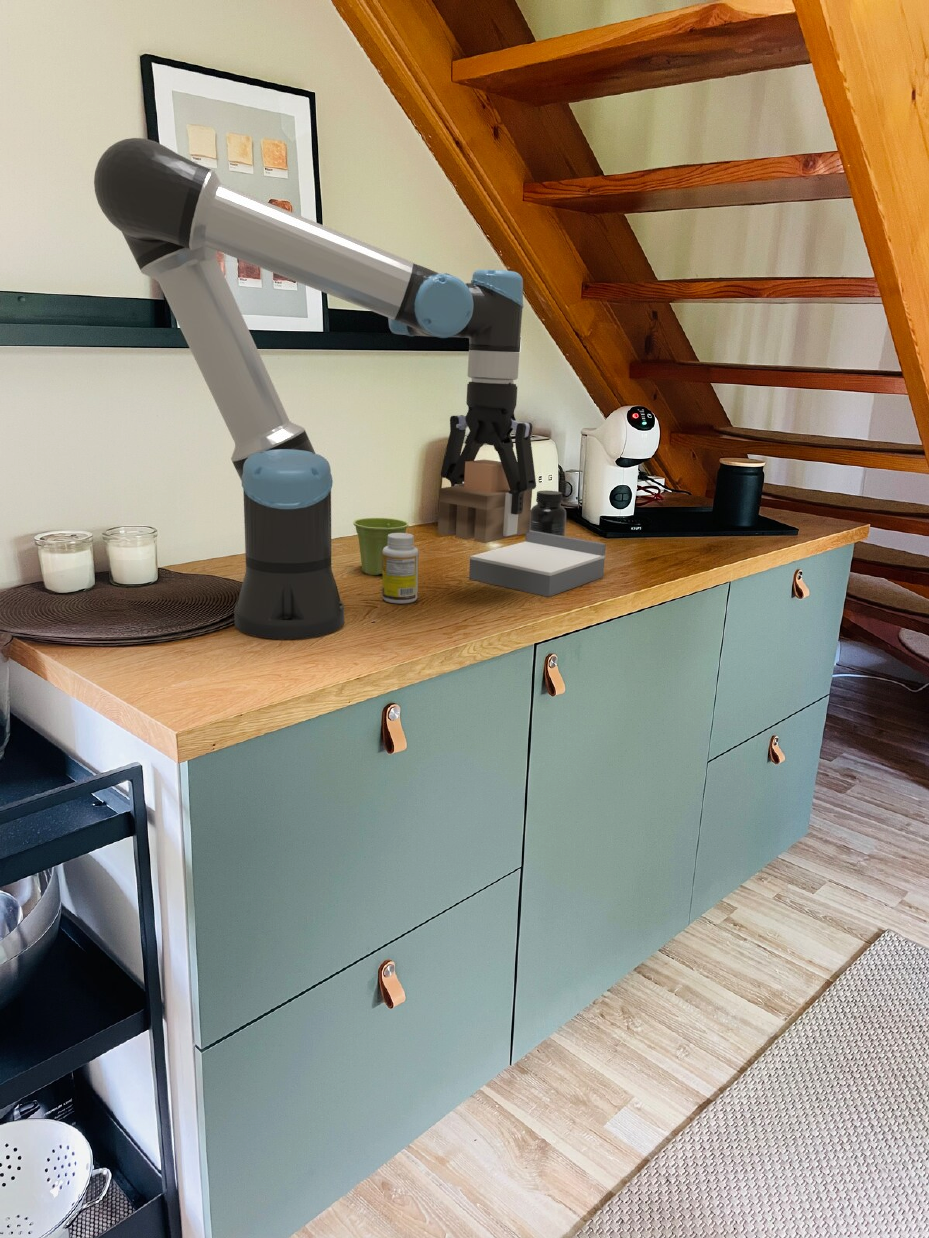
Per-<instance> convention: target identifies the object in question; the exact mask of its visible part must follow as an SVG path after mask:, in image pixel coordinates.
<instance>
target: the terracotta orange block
mask: <svg viewBox="0 0 929 1238" xmlns="http://www.w3.org/2000/svg"><path fill="white" fill-rule="evenodd" d="M463 483H464V488H468V489H474V490H480V491H486V492H495V491H501V490H507V489H509V485H508V482H507V479H506V476H505V473H504V470H503V467H502V464H501V461H498V460H490V459H485V458H483V459H479V460H478V459H477V460H474V461H467V462H465V478H464V482H463Z"/></svg>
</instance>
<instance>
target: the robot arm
mask: <svg viewBox="0 0 929 1238" xmlns="http://www.w3.org/2000/svg"><path fill="white" fill-rule="evenodd" d="M93 176H94V178H93V179H94V180H93V184H94V195H95V197H96V200H97V203H98V205H99V206H98V207H99V208H100V210H101V212H102V213H103V215H105V217H106V218H107V220H108V221H109V222H110V223H111V224H112V225H113V226H114V227H115V228H117V229H118V230H119V231H120V233H122V236H123V237H124V240H125V242H126V244H127V246H128V248H129V250H130V252H131V254H132V256H133V259H134V260H135V262H136V264H137V266H138V269H139V271H140V273H141V274H142V275H145V276H147V277H150V278H151V279H153V280H155V281H156V282H158V285H159V286H160V289H161V291H162V293H163V294H164V297H165V298H166V301H167V304H168V305H169V308H170V310H171V311H172V313H173V316H174V318H175V320H176V323H177V324H178V326H179V329H180V331H181V332H182V335H183V337H184V340H185V341H186V343H187V345H188V348H189V349H190V352H191V354H192V355H193V359H194V360H195V362H196V364H197V366H198V368H199V370H200V373H201V375H202V377H203V379H204V381H205V383H206V385H207V388H208V389H209V392H210V393H211V394H210V395H211V396H212V398H213V400H214V402H215V404H216V406H217V408H218V410H219V412H220V415H221V417H222V419H223V421H224V423H225V425H226V427H227V429H228V432H229V434H230V435H231V438H232V440H233V441H234V450H233V452H232V455H231V457H230V460H231V462H232V464H233V467H234V469H235V471H236V473H237V475H238V477H239V479H240V481H241V487H242V490H243V514H244V515H243V517H244V520H243V521H244V549H245V551H244V554H245V572H244V576H243V579H242V580H243V581H242V585H241V588H240V591H239V596H238V601H237V602H236V604H235V606H234V611H233V612H234V613H233V616H234V627H235V628H236V629H237V630H238V631H240V632H241V633H244V634H246V635H250V636H254V637H257V638H258V637H259V638H264V639H265V638H266V639H276V640H277V639H278V640H279V639H280V640H294V639H295V640H298V639H309V638H315V637H320V636H321V637H322V636H325V635H328V634H331V633H333V632H336V631H338V630H340V629H341V628H343V626H344V624H345V606H344V603H343V601H342V600H341V599H340V593H339V588H338V585H337V583H336V580H335V576H334V573H333V570H332V568H333V567H332V488H333V483H334V482H333V481H334V480H333V476H332V472H331V466H330V465H331V464H330V463H329V461H328V459H326V458H325V456H322V455H321V454H318V453H316V451H315V450H314V447H313V444H312V442H311V440H310V438H309V436H308V434H307V432H306V429H305V427H303V426H301V425H298V424H296V423H294V422H292V421H291V420H290V418H289V417H288V414H287V412H286V410H285V408H284V405H283V403H282V401H281V399H280V397H279V394H278V392H277V390H276V388H275V385H274V383H273V380H272V379H271V377H270V375H269V372H268V369H267V367H266V365H265V363H264V361H263V359H262V357H261V354H260V352H259V350H258V347H257V344H256V343H255V341H254V339H253V336H252V335H251V332H250V330H249V327H248V325H247V324H246V321H245V319H244V316H243V314H242V312H241V310H240V307H239V306H238V303H237V300H236V299H235V296H234V295H233V292H232V290H231V288H230V286H229V283H228V280H227V278H226V276H225V274H224V272H223V270H222V268H221V265H220V263H219V261H218V259H217V258H218V257H217V256H218V252H220V253H222V254H225V255H227V256H229V257H232V258H235V259H237V260H240V261H242V262H244V263H248V264H250V265H252V266H255V267H258V268H260V269H262V270H266V271H268V272H270V273H273V274H276V275H278V276H281V277H283V278H287V279H289V280H291V281H294V282H297V283H299V284H301V285H304V286H306V287H309V288H312V289H314V290H317V291H319V292H322V293H324V294H327V295H330V296H333V297H334V298H338V299H340V300H342V301H345V302H348V303H349V304H353V305H356V306H358V307H360V308H364V309H366V310H368V311H371V312H373V313H376V314H378V315H381V316H384V317H386V318H387V319H388V328H389V329H390V332H391V333H392V334H395V335H402V336H403V335H405V336H408V337H415V336H416V337H417V336H418V337H419V336H420V337H436V338H440V339H447V338H462V339H465V338H467V339H469V340H468V342H469V345H468V349H469V350H468V358H467V359H468V361H467V377H468V378H469V379H470V378H471V381H468V383H467V384H466V386H467V387H466V405H467V409H468V410H467V413H466V414H465V415H463V414H462V415H461V414H460V415H458V414H457V415H451V416H450V418H449V430H450V431H449V436H448V440H447V445H446V449H445V452H444V458H443V460H442V461H443V462H442V466H441V469H440V476H441V478H442V479H446V480H448V481H449V483H450V487H452V486H458V485H464V478H465V462H467V461H476V460H475V459H476V457H477V455H478V453H479V451H480V449H481V447H483V446H484V445H485V444H487V445H489V446H493V448H494V450H495V451H496V452H497V454H498V457H499V460H500V461H499V462H501V464H502V467H503V470H504V473H505V476H506V479H507V482H508V485H509V488H510V491H508V493H506V496H505V512H504V528H503V535H504V536H510V535H514V534H517V526H518V514H521V513H522V511H523V497H524V493H525V492H526V491H528V490H532V491H533V490H535V489H536V488H537V481H536V480H537V479H536V472H535V465H534V457H533V447H532V439H531V437H532V433H533V424H532V423H531V422H521V421H518V420H517V419H516V417H515V410H516V408H517V400H518V385H517V384H516V383H514V381H516V380H518V379H519V378H518V377H519V368H520V367H519V365H520V364H519V363H520V361H519V360H520V346H521V334H522V333H521V332H522V331H521V330H522V319H523V309H524V279H523V277H522V276H521V274H520V273H518V272H516V271H514V270H513V271H512V270H503V269H478V270H475V271H473V272H472V273H473V274H472V279H471V280H470V282H469V283H468V282H466V283H465V282H464V281H463V280H462V279H460V278H459V277H457V276H454V275H452V274H450V273H447V272H445V273H443V272H442V273H439V272H437V271H435V270H431V269H430V268H427V267H425V266H423V265H422V266H421V265H419V264H417V263H414V262H413V261H411V260H408V259H406V258H403V257H401V256H398V255H395V254H393V253H391V252H389V251H386V250H384V249H381V248H379V247H377V246H374V245H372V244H369V243H367V242H365V241H362V240H360V239H357V238H355V237H352V236H350V235H347V234H345V233H343V232H340V231H338V230H336V229H333V228H330V227H328V226H326V225H323V224H321V223H318V222H316V221H313V220H311V219H308V218H307V217H304V216H302V215H299V214H297V213H294V212H292V211H289V210H287V209H284V208H282V207H279V206H277V205H275V204H272V203H270V202H267V201H265V200H263V199H260V198H257V197H255V196H253V195H251V194H248V193H245V192H243V191H241V190H239V189H236V188H233V187H231V186H229V185H226V184H223V183H222V182H221V181H220V179H219V177H218V175H217V173H216V171H215V170H213V169H211V168H209V167H206V166H203V165H202V164H199V163H197V162H195V161H193V160H190V159H188V158H187V157H184V156H183V155H180V154H178V153H177V152H176V151H174V150H172V149H170V148H168V147H167V146H166V145H163V144H161V143H159V142H157V141H155V140H152V139H147V138H141V137H132V138H125V139H122V140H119V141H117V142H115V143H113V144H112V145H110V146H109V147H108V148H107V149H106V150H105V151H104V152H103V153H102V154H101V156H100V158H99V159H98V162H97V165H96V168H95V171H94V175H93ZM467 428H468V429H469V432H468V434H467V436H466V431H467ZM511 433H513V435H514V437H515V438H514V443H513V440H512V436H511ZM465 437H466V438H465ZM464 444H465V445H464ZM463 445H464V447H463ZM514 446H515V451H514ZM515 452H516V453H515Z"/></svg>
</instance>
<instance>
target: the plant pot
mask: <svg viewBox="0 0 929 1238" xmlns="http://www.w3.org/2000/svg"><path fill="white" fill-rule="evenodd" d="M352 523H353V526H355V531H356V533H357V537H358V544H359V545H358V546H359V553H360V559H361V569H362V571H363V573H365V574H367V575H372V576H379V575H382V552H383V549H384V547H386V546H388V542H387V541H388V535H389V534H392V533H406V532H407V528H408V527H409V525H410V523H409V522H408V521H406V520H402V519H398V518H387V517H367V518H363V517H362V518H357V519H355V520H354V521H353V522H352Z"/></svg>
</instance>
